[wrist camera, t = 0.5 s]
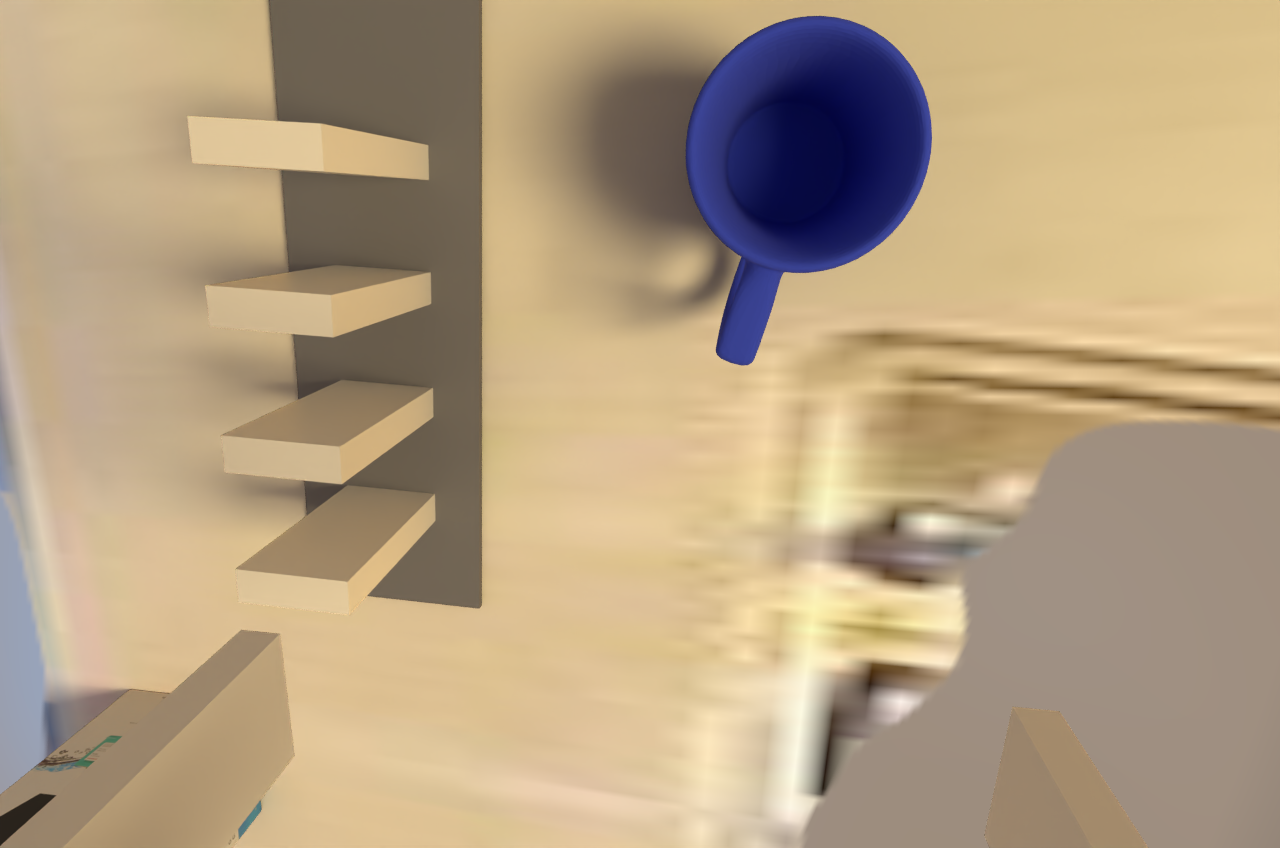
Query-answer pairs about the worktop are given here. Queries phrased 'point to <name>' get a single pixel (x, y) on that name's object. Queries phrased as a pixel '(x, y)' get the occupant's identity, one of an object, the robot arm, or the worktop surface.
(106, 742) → the ink box
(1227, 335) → the worktop surface
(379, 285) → the domino
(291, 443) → the domino
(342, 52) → the mat
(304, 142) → the domino
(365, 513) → the domino
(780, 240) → the mug
